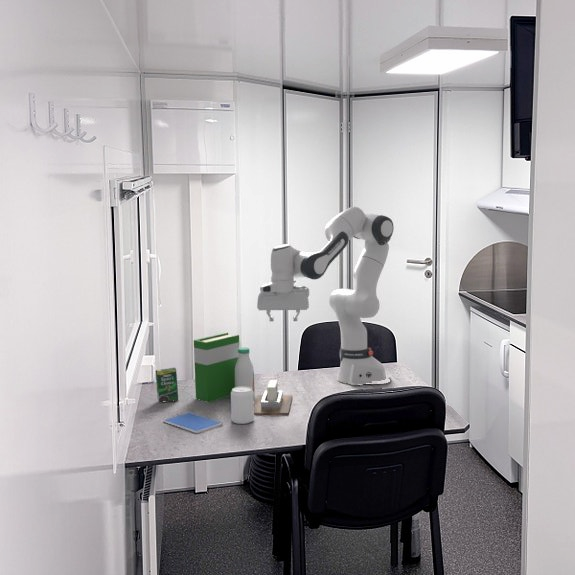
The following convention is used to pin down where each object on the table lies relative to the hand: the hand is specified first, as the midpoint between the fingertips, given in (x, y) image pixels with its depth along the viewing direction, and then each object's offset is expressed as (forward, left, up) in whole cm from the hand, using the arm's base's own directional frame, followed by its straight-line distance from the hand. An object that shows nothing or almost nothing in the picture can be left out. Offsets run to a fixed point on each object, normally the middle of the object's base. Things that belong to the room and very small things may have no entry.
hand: (283, 321), depth 295 cm
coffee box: (+46, +7, -31) cm, 56 cm away
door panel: (+4, +12, -30) cm, 32 cm away
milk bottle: (+16, +1, -31) cm, 35 cm away
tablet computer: (+31, +33, -32) cm, 55 cm away
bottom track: (+4, +12, -31) cm, 33 cm away
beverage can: (+13, +30, -31) cm, 45 cm away
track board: (+4, +12, -31) cm, 33 cm away
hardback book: (+27, -1, -31) cm, 41 cm away
